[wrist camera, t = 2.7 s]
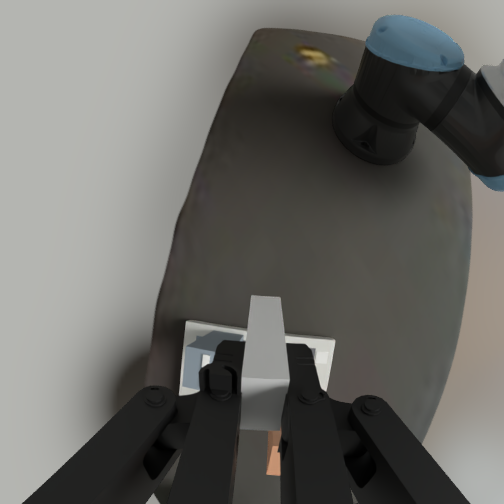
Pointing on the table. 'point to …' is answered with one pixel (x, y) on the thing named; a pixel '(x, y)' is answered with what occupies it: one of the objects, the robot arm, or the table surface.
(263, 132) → the table surface
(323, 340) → the switch plate
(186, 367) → the slate switch
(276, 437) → the terracotta switch
